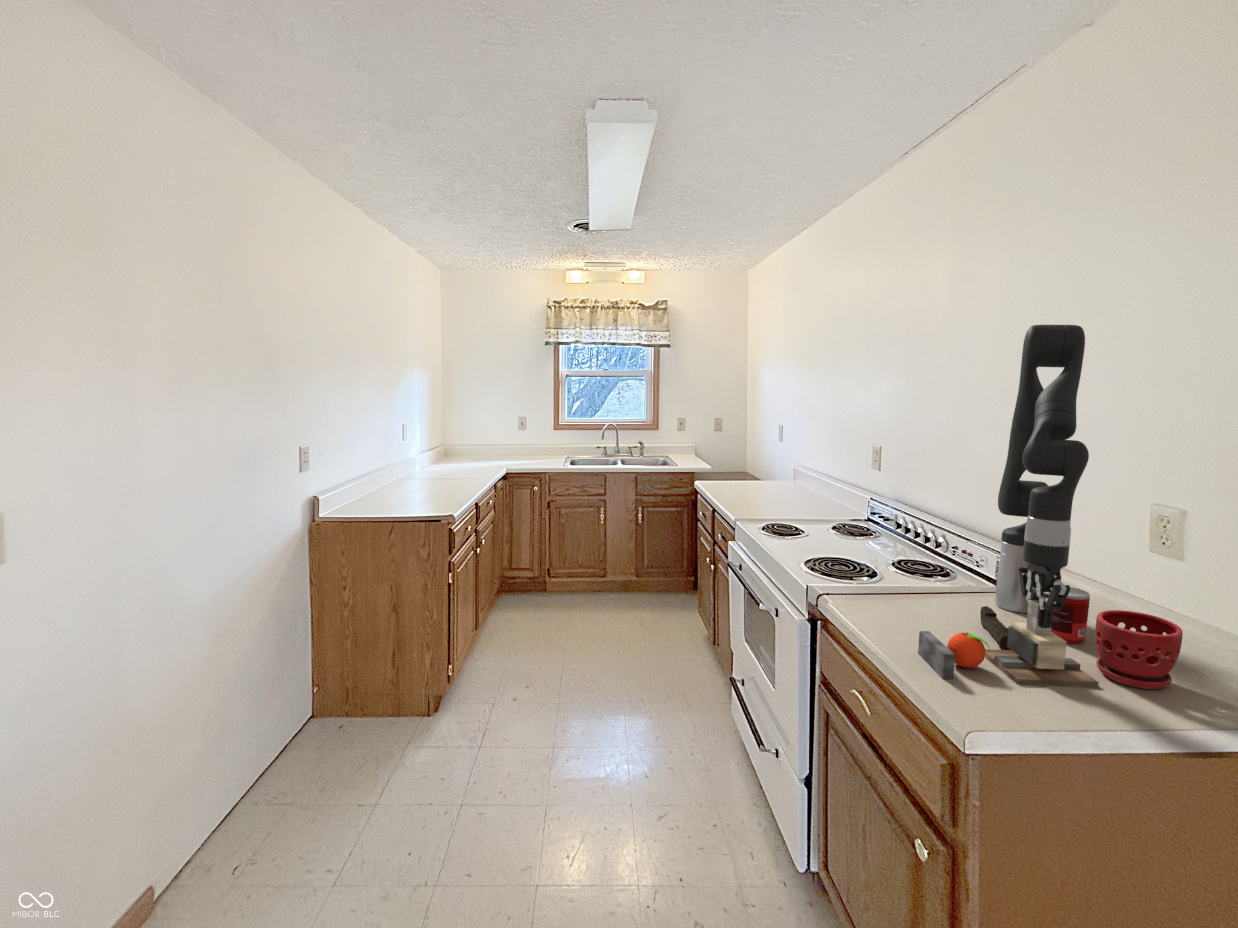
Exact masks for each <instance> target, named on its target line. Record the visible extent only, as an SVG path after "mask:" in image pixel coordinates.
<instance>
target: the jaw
mask: <svg viewBox="0 0 1238 928" xmlns="http://www.w3.org/2000/svg"><path fill="white" fill-rule="evenodd" d="M1046 602H1047V600H1045V604H1046ZM1039 609H1040V606H1039V600H1029V603H1028V613H1026V614H1027V615H1026V616H1027V617H1026V622H1023V621H1021V622H1020V621H1011V625H1010V626H1008V628H1009V629H1008V640H1007V647H1008V648H1010V649H1011V650H1012V651H1014V652H1015V653H1016V654H1018V655H1019V656H1020V657H1022V658H1023V659H1024V660H1026V661H1027V662H1028V663H1030V664H1031V665H1033V666H1035V667H1036V668H1040V669H1064V664H1065V658H1066V652H1067V651H1066V650H1067V644H1068V643H1067V642H1066V641H1065V640H1063V639H1062V638H1060V637H1058V636H1057V635H1055V634H1054V633H1052V632H1051V627H1050V628H1041V627H1039V626H1038V617H1039Z"/></svg>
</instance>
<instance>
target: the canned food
mask: <svg viewBox="0 0 1238 928" xmlns="http://www.w3.org/2000/svg"><path fill="white" fill-rule="evenodd" d="M1050 593H1051V592H1048V594H1050ZM1090 598H1091V595H1090V593H1089V592H1088V591H1085V590H1083V589H1081V588H1077V587H1072V586H1070V592H1069V594H1068V596H1067V598H1066V601H1065V603H1064V605H1063V607H1062V609H1061V610H1054V611H1053V615H1052V624H1051V632H1052V633H1054V634H1055V635H1057V636H1058V637H1060V638H1062V639H1063V640H1065V641H1066V642H1067V644H1070V645H1073V644H1075V645H1077V644H1082V643H1084V642H1085V639H1086V635H1087V627H1088V619H1089V611H1090V610H1089V608H1090ZM1056 603H1057V601H1056Z"/></svg>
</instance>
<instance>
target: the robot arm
mask: <svg viewBox="0 0 1238 928" xmlns="http://www.w3.org/2000/svg"><path fill="white" fill-rule="evenodd" d="M1085 347H1086V335H1085V331H1084V329H1083V327H1082V326H1079V325H1075V324H1033V325H1031V326H1030V327H1028V329H1027V330H1026V333H1025V336H1024V338H1023V344H1022V352H1021V364H1020V376H1019V383H1018V390H1017V391H1018V392H1017V397H1016V401H1015V406H1014V412H1013V415H1012V420H1011V421H1012V422H1011V425H1010V426H1011V428H1010V432H1009V433H1010V434H1009V441H1008V442H1009V443H1008V450H1007V457H1006V461H1005V462H1006V463H1005V466H1004V470H1003V474H1002V479H1001V482H1000V485H999V490H998V491H999V492H998V497H997V506H998V510H999V512H1000V513H1001V514H1002V515H1006V516H1009V517H1010V516H1013V517H1021V518H1022V517H1023V518H1024V517H1025V518H1026V522H1024V523H1022V524H1020V525H1016V526H1012V527H1007V528H1004V529H1003V530H1002V532H1001V539H1000V540H1001V541H1000V551H999V553H1000V554H999V565H998V567H997V575H996V587H995V598H994V599H995V600H994V601H995V604H996V606H997V607H999V608H1000V609H1004V610H1007V611H1011V612H1015V613H1022V614H1028V603H1029V600H1039V606H1040V609H1039V617H1038V626H1039V627H1041V628H1050V627H1051V624H1052V615H1053V611H1054V610H1061V609H1062V607H1063V605H1064V603H1065V601H1066V598H1067V596H1068V594H1069V592H1070V587H1071V586H1070V584H1064V583H1063V581H1062V573H1061V570H1062V569H1064V568H1066V567H1067V566H1068V565H1069V556H1070V545H1071V535H1072V527H1071V524H1072V523H1071V518H1072V509H1073V500H1074V496H1075V492H1076V489H1077V487H1078V485H1079V482H1080V479H1081V478H1082V476H1083V473H1084V471H1085V469H1086V467H1087V465H1088V462H1089V460H1090V459H1089V457H1090V456H1089V455H1090V454H1089V453H1090V452H1089V450H1088V448H1087V446H1086V444H1085V443H1084V442H1081V441H1079V440H1074V439H1070V438H1071V437H1073V436H1074V435H1075V433H1076V431H1077V397H1078V390H1079V386H1080V382H1081V381H1080V380H1081V374H1082V369H1083V361H1084V358H1085V357H1084V355H1085ZM1038 368H1063V370H1062V371H1061V372H1060V374H1059V375H1058V376H1057V377H1056V378H1055V379H1053V381H1052V382H1051V383H1049V384H1048V385H1047V386H1046V387H1045V388H1044V387H1043V385H1042V383H1041V380H1040V379H1039V375H1038V370H1037V369H1038ZM1026 471H1027V472H1029V473H1030V474H1032V475H1041V476H1055V477H1056V476H1057V477H1058V476H1059V477H1062V479H1061V480H1060V481H1059V482H1058V483H1056V484H1052V485H1048V483H1046V482H1044V481H1037V480H1036V481H1035V480H1023V479H1021V478H1022V476H1023V474H1024V473H1025V472H1026ZM1049 592H1051V593H1050V594H1049ZM1046 599H1047V600H1046ZM1045 601H1046V604H1045ZM1056 601H1057V603H1056Z"/></svg>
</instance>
